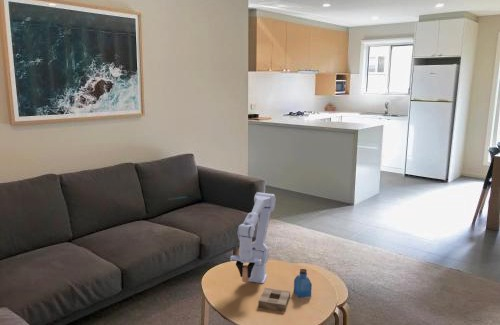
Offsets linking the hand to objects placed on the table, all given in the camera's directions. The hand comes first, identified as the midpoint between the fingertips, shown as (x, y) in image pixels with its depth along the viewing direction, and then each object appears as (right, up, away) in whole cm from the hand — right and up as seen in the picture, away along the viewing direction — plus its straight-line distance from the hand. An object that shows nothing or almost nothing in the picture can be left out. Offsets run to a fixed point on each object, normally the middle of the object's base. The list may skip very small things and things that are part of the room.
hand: (245, 276), depth 187 cm
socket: (+13, -10, -6) cm, 18 cm away
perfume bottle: (+27, -9, +1) cm, 28 cm away
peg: (0, -2, 0) cm, 2 cm away
